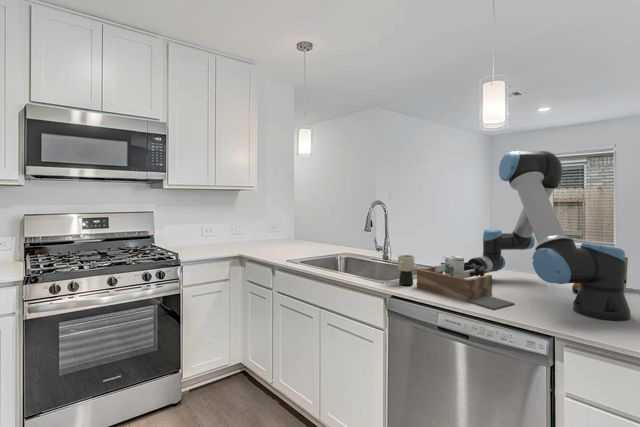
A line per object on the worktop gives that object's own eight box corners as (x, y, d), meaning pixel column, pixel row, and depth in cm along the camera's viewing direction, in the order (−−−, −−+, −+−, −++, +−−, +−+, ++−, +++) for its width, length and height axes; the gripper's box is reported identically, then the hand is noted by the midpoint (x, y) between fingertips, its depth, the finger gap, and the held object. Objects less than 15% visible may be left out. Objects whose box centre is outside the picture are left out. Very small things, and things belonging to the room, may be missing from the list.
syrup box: (443, 289, 151) (444, 255, 151) (456, 288, 152) (456, 255, 152) (451, 293, 146) (451, 258, 145) (464, 292, 147) (464, 257, 146)
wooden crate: (439, 282, 163) (439, 265, 163) (491, 295, 143) (492, 275, 142) (416, 287, 155) (416, 269, 154) (468, 301, 134) (468, 280, 134)
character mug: (404, 281, 167) (404, 253, 166) (418, 283, 162) (418, 255, 161) (393, 285, 158) (393, 256, 158) (407, 288, 154) (407, 258, 153)
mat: (514, 304, 130) (514, 303, 130) (493, 310, 124) (493, 308, 124) (485, 296, 140) (485, 295, 140) (464, 301, 135) (464, 299, 135)
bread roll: (603, 307, 138) (614, 289, 137) (576, 294, 140) (587, 276, 139) (589, 299, 148) (599, 282, 147) (564, 288, 149) (574, 271, 148)
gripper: (506, 279, 149) (477, 287, 137) (455, 269, 169) (425, 275, 158) (507, 261, 148) (477, 267, 136) (455, 253, 169) (425, 258, 157)
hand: (449, 271), depth 147 cm, fingers open, 13 cm apart
